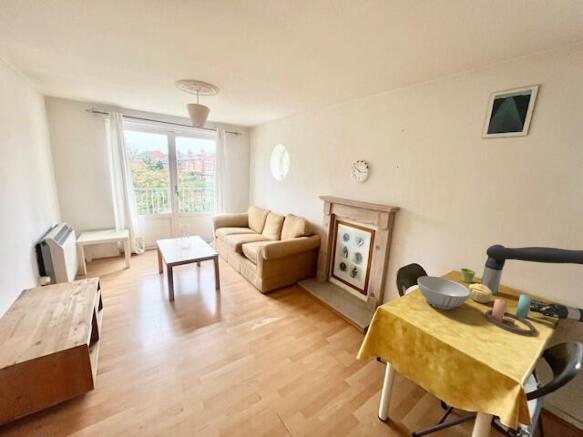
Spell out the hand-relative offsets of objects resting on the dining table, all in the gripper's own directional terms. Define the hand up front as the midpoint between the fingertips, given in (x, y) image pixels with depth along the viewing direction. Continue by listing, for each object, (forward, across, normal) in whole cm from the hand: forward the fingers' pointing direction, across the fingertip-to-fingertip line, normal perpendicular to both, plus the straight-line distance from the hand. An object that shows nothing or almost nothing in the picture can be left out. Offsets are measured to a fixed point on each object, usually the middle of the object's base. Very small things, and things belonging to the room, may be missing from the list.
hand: (525, 305), depth 131 cm
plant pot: (+15, -43, +7) cm, 46 cm away
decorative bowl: (+42, +5, +7) cm, 43 cm away
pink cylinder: (+17, +13, +7) cm, 23 cm away
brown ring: (+12, +12, +7) cm, 18 cm away
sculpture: (+17, -11, +7) cm, 22 cm away
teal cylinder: (+1, 0, +7) cm, 7 cm away
